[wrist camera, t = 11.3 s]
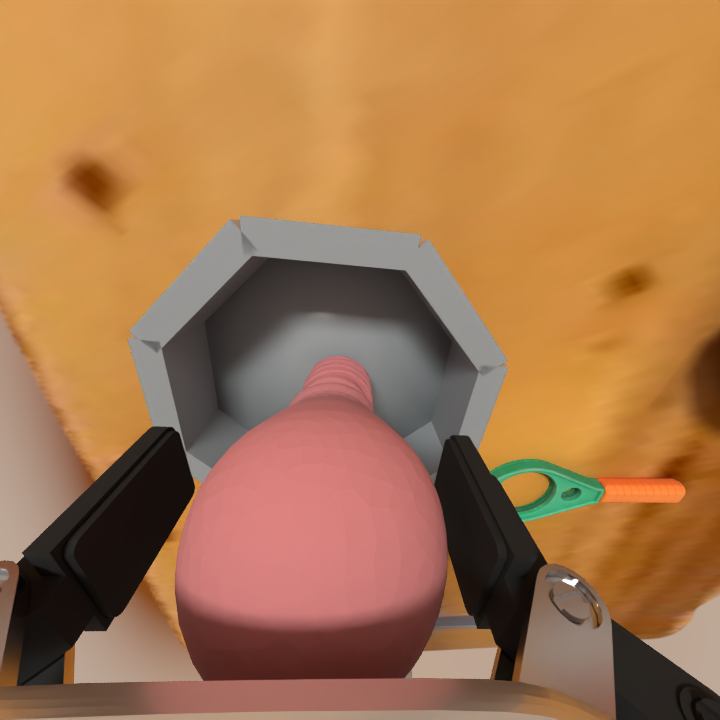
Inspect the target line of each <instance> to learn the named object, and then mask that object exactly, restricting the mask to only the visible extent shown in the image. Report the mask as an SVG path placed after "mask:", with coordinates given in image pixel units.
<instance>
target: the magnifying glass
mask: <svg viewBox="0 0 720 720" xmlns="http://www.w3.org/2000/svg"><path fill="white" fill-rule="evenodd" d="M527 472H539V473H543V474H546V475H548V476H549V477H550V485H549V488H548V489H547V491H546V492H545V493H544V494H543V495H542V496H541V497H540V498H539V499H537V500H536V501H534V502H532V503H530V504H527V505H524V506H520V507H514V508H515V509H516V511H517V513H518V514H519V516H520V518H521V519H522V521H523V522H525V521H531V520H535V519H539V518H542V517H546V516H550V515H553V514H557V513H560V512H564V511H568V510H571V509H575V508H578V507H582V506H586V505H589V504H596V503H598V502H648V503H653V502H654V503H677V502H679V501H680V500H681V499H682V498H683V496H684V495H685V488H684V487H683V485H682V484H681V483H680V482H678V481H677V480H675V479H672V478H596V479H595V478H587V477H584V476H582V475H579V474H577V473H574V472H572V471H569V470H567V469H564V468H562V467H559V466H557V465H554V464H552V463H549V462H546V461H543V460H538V459H523V460H517V461H512V462H509V463H506V464H503V465H501V466H499V467H497V468H495V469H494V470H492V471H490V474H491V475H494V476H495V477H496V478H497V479H498V480H499V482H500V484H501V483H502V482H503V481H504V480H506V479H508V478H510V477H512V476H514V475H518V474H521V473H527ZM570 488H572V489H571V490H569V491H567V492H564V491H565V490H567V489H570Z"/></svg>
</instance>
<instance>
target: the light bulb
mask: <svg viewBox="0 0 720 720" xmlns="http://www.w3.org/2000/svg"><path fill="white" fill-rule="evenodd" d="M447 554H448V546H447V535H446V527H445V521H444V516H443V510H442V507H441V503H440V500H439V497H438V494H437V491H436V488H435V486H434V484H433V482H432V479H431V477H430V475H429V473H428V471H427V470H426V468H425V466H424V465H423V463H422V461H421V460H420V458H419V457H418V456H417V454H416V453H415V452H414V450H413V449H412V448H411V446H410V445H409V444H408V443H407V442H406V441H405V440H404V439H403V438H402V437H401V436H400V435H399V434H398V433H396V432H395V431H394V430H393V429H392V428H391V427H390V426H389V425H388V424H387V423H386V422H384V421H383V420H382V419H381V418H380V417H378V416H377V415H376V414H374V410H373V394H372V388H371V384H370V378H369V376H368V373H367V372H366V370H365V368H364V367H363V366H361V365H360V364H359V363H358V362H357V361H355V360H353V359H351V358H349V357H345V356H332V357H327V358H325V359H323V360H321V361H319V362H318V363H317V364H316V365H315V366H314V367H313V368H312V370H311V372H310V374H309V375H308V377H307V379H306V380H305V383H304V386H303V388H302V391H301V392H300V393H299V394H298V395H296V396H295V398H294V399H293V401H292V402H291V404H290V405H289V407H288V408H286V409H284V410H282V411H280V412H278V413H277V414H275V415H273V416H272V417H270V418H269V419H267V420H265V421H264V422H262V423H261V424H259V425H257V426H256V427H254V428H253V429H251V430H250V431H248V432H247V433H246V434H245V435H243V436H242V437H241V438H240V439H239V440H238V441H237V442H235V443H234V444H233V445H232V446H231V447H230V448H229V449H228V450H227V451H226V453H225V454H224V455H223V456H222V457H221V458H220V459H219V460H218V462H217V463H216V464H215V466H214V467H213V468H212V470H211V471H210V472H209V474H208V475H207V477H206V479H205V480H204V482H203V484H202V486H201V487H200V489H199V491H198V493H197V495H196V497H195V499H194V501H193V504H192V506H191V508H190V511H189V513H188V516H187V519H186V522H185V525H184V528H183V532H182V536H181V540H180V544H179V548H178V555H177V563H176V571H175V595H176V603H177V612H178V620H179V625H180V629H181V632H182V634H183V637H184V640H185V643H186V646H187V649H188V652H189V655H190V657H191V660H192V663H193V665H194V666H195V668H196V669H197V671H198V673H199V674H200V676H201V677H202V679H203V681H233V680H302V679H404V678H405V677H406V676H407V675H408V673H409V672H410V671H411V670H412V668H413V667H414V665H415V663H416V662H417V660H418V659H419V657H420V656H421V654H422V652H423V650H424V648H425V646H426V644H427V642H428V640H429V638H430V636H431V634H432V631H433V629H434V626H435V623H436V620H437V618H438V615H439V612H440V608H441V604H442V600H443V595H444V589H445V583H446V577H447Z"/></svg>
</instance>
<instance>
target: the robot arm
mask: <svg viewBox="0 0 720 720" xmlns="http://www.w3.org/2000/svg"><path fill="white" fill-rule="evenodd" d="M434 486H435V488H436V491H437V494H438V497H439V500H440V503H441V507H442V510H443V516H444V521H445V527H446V535H447V546H448V551H449V555H450V558H451V561H452V565H453V568H454V571H455V575H456V578H457V581H458V585H459V588H460V591H461V595H462V598H463V601H464V605H465V608H466V610H467V612H468V614H469V615H470V616H474V619H475V623H476V626H477V629H491V631H492V634H493V637H494V640H495V643H496V645H498V649H497V653H496V657H495V661H494V666H493V670H492V674H491V678H490V679H434V678H433V679H432V678H412V671H410V672H409V673H408V675H407V676H406V677H405V678H404V679H302V680H233V681H173V682H126V683H125V682H124V683H79V684H74V656H75V643H76V641H77V640H78V638H79V637H80V635H81V634H82V632H83V631H106V630H107V629H108V627H109V625H110V624H111V622H112V621H113V619H114V617H117V616H118V615H120V614H121V613H122V612H123V610H124V609H125V608H126V606H127V604H128V603H129V601H130V599H131V598H132V596H133V594H134V593H135V591H136V589H137V588H138V586H139V584H140V583H141V581H142V579H143V578H144V576H145V574H146V573H147V571H148V569H149V568H150V566H151V565H152V563H153V561H154V560H155V558H156V556H157V555H158V553H159V551H160V550H161V548H162V546H163V545H164V543H165V541H166V540H167V538H168V536H169V535H170V533H171V531H172V530H173V528H174V526H175V525H176V523H177V521H178V520H179V518H180V516H181V515H182V513H183V511H184V510H185V508H186V506H187V505H188V503H189V501H190V500H191V498H192V496H193V494H194V490H195V485H194V481H193V478H192V474H191V471H190V467H189V464H188V461H187V457H186V454H185V450H184V447H183V443H182V440H181V436H180V434H179V432H178V431H175V429H174V428H173V427H161V426H154V427H151V428H150V429H149V430H148V431H146V432H145V433H144V434H143V435H142V436H141V437H140V438H139V439H138V440H137V441H136V442H135V443H134V444H133V445H132V446H131V447H130V448H129V449H128V450H127V451H126V452H125V453H124V454H123V455H122V456H121V457H120V458H119V459H118V460H117V461H116V462H115V463H114V464H113V465H112V466H111V467H110V468H109V469H108V470H106V471H105V472H104V473H103V474H102V475H101V476H100V477H99V478H98V479H97V480H96V481H95V482H94V483H93V484H92V485H91V486H90V487H89V488H88V489H87V490H86V491H85V492H84V493H83V494H82V495H81V496H80V497H79V498H78V499H77V500H76V501H75V502H74V503H73V504H72V505H71V506H70V507H69V508H67V510H65V511H64V512H63V513H62V514H61V515H60V516H59V517H58V518H57V519H56V520H55V521H54V522H53V523H52V524H51V525H50V526H49V527H48V528H47V529H46V530H45V531H44V532H43V533H42V534H41V535H40V536H39V537H38V538H37V539H36V540H35V541H34V542H33V543H32V544H31V545H30V546H29V547H28V548H27V549H26V550H24V551H23V552H22V553H23V555H24V557H23V558H22V559H21V560H20V561H19V562H18V563H17V564H16V563H15V562H13V561H5V560H4V561H0V720H720V696H718V695H717V694H716V693H715V692H713V691H712V690H710V689H709V688H708V687H706V686H705V685H703V684H702V683H701V682H699V681H698V680H697V679H695V678H694V677H692V676H691V675H690V674H688V673H686V672H685V671H684V670H682V669H681V668H680V667H678V666H677V665H675V664H674V663H673V662H671V661H670V660H668V659H667V658H666V657H664V656H663V655H661V654H660V653H659V652H657V651H656V650H654V649H653V648H652V647H650V646H649V645H647V644H646V643H644V642H643V641H642V640H640V639H639V638H637V637H636V636H635V635H633V634H632V633H630V632H629V631H628V630H626V629H625V628H623V627H622V626H621V625H619V624H618V623H616V622H615V621H614V620H612V619H611V618H610V614H609V611H608V609H607V607H606V605H605V603H604V601H603V600H602V598H601V597H600V595H599V594H598V593H597V591H596V590H595V589H594V588H593V587H592V586H591V585H590V584H589V583H588V582H587V581H586V580H585V579H584V578H582V577H581V576H580V575H578V574H577V573H576V572H574V571H572V570H570V569H568V568H566V567H564V566H561V565H557V564H547V562H546V560H545V559H544V557H543V555H542V554H541V552H540V550H539V548H538V547H537V545H536V543H535V542H534V540H533V538H532V537H531V535H530V533H529V531H528V530H527V528H526V526H525V525H524V523H523V521H522V519H521V518H520V516H519V514H518V513H517V511H516V509H515V508H514V506H513V504H512V502H511V501H510V499H509V497H508V496H507V494H506V492H505V490H504V489H503V487H502V485H501V484H500V482H499V480H498V479H497V478H496V477H495V476H494V475H491V474H490V472H489V470H488V468H487V467H486V465H485V463H484V461H483V460H482V458H481V456H480V454H479V452H478V451H477V449H476V447H475V445H474V444H473V442H472V440H471V438H470V437H469V436H467V435H451V436H450V439H446V440H445V443H444V447H443V451H442V455H441V459H440V463H439V467H438V471H437V475H436V479H435V483H434Z"/></svg>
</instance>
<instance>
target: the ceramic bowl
mask: <svg viewBox="0 0 720 720" xmlns="http://www.w3.org/2000/svg"><path fill="white" fill-rule="evenodd" d="M420 236H421V235H420V234H411V233H401V232H392V231H382V230H373V229H363V228H354V227H344V226H335V225H325V224H315V223H306V222H296V221H287V220H277V219H268V218H258V217H249V216H240V220H234V219H230V220H229V221H228V222H227V223H226V224H225V225H224V226H223V227H222V228H221V230H220V231H219V232H218V233H217V234H216V235H215V236H214V237H213V238H212V240H211V241H210V242H209V243H208V244H207V245H206V246H205V247H204V248H203V250H202V251H201V252H200V253H199V254H198V255H197V256H196V257H195V258H194V260H193V261H192V262H191V263H190V264H189V265H188V266H187V267H186V268H185V270H184V271H183V272H182V273H181V274H180V275H179V276H178V277H177V278H176V280H175V281H174V282H173V283H172V284H171V285H170V286H169V287H168V288H167V290H166V291H165V292H164V293H163V294H162V295H161V296H160V297H159V298H158V300H157V301H156V302H155V303H154V304H153V305H152V306H151V307H150V308H149V310H148V311H147V312H146V313H145V314H144V315H143V316H142V317H141V318H140V320H139V321H138V322H137V323H136V324H135V325H134V326H133V327H132V328H131V330H130V331H129V332H130V333H131V334H133V335H134V336H133V337H131V338H128V343H129V346H130V349H131V353H132V356H133V360H134V363H135V366H136V370H137V373H138V377H139V380H140V384H141V387H142V390H143V394H144V397H145V401H146V404H147V407H148V411H149V414H150V418H151V421H152V424H153V427H154V426H161V427H173V428H174V429H175V431H178V432H179V434H180V436H181V440H182V443H183V447H184V450H185V454H186V457H187V461H188V464H189V467H190V471H191V474H192V477H194V478H195V479H197V480H198V481H200V482H201V483H203V482H204V480H205V479H206V477H207V475H208V474H209V472H210V471H211V470H212V468H213V467H214V466H215V464H216V463H217V462H218V460H219V459H220V458H221V457H222V456H223V455H224V454H225V453H226V451H227V450H228V449H229V448H230V447H231V446H232V445H233V444H234V443H235V442H237V441H238V440H239V439H240V438H241V437H242V436H243V435H245V434H246V433H247V432H248V431H250V430H251V429H253V428H254V427H256V426H257V425H259V424H261V423H262V422H264V421H265V420H267V419H269V418H270V417H272V416H273V415H275V414H277V413H278V412H280V411H282V410H284V409H286V408H288V407H289V405H290V404H291V402H292V401H293V399H294V398H295V396H296V395H298V394H299V393H300V392H301V391H302V388H303V386H304V383H305V380H306V379H307V377H308V375H309V374H310V372H311V370H312V368H313V367H314V366H315V365H316V364H317V363H318V362H319V361H321V360H323V359H325V358H327V357H332V356H345V357H349V358H351V359H353V360H355V361H357V362H358V363H359V364H360V365H361V366H363V367H364V368H365V370H366V372H367V373H368V376H369V378H370V384H371V388H372V394H373V410H374V414H376V415H377V416H378V417H380V418H381V419H382V420H383V421H384V422H386V423H387V424H388V425H389V426H390V427H391V428H392V429H393V430H394V431H395V432H396V433H398V434H399V435H400V436H401V437H402V438H403V439H404V440H405V441H406V442H407V443H408V444H409V445H410V446H411V448H412V449H413V450H414V452H415V453H416V454H417V456H418V457H419V458H420V460H421V461H422V463H423V465H424V466H425V468H426V470H427V471H428V473H429V475H430V477H431V479H432V482H433V484H434V483H435V479H436V475H437V471H438V467H439V463H440V459H441V455H442V451H443V447H444V443H445V440H446V439H450V436H451V435H467V436H469V437H470V438H471V440H472V442H473V444H474V445H475V447H476V449H477V451H478V448H479V446H480V443H481V440H482V438H483V435H484V432H485V430H486V427H487V424H488V421H489V419H490V416H491V413H492V411H493V408H494V405H495V402H496V400H497V397H498V394H499V392H500V389H501V386H502V383H503V381H504V378H505V375H506V373H507V370H508V367H507V366H506V365H505V364H504V363H505V362H506V361H508V360H507V358H506V357H505V355H504V354H503V352H502V351H501V349H500V348H499V346H498V344H497V343H496V341H495V340H494V338H493V337H492V335H491V334H490V332H489V331H488V329H487V328H486V326H485V325H484V323H483V321H482V320H481V318H480V317H479V315H478V314H477V312H476V311H475V309H474V308H473V306H472V305H471V303H470V302H469V300H468V298H467V297H466V295H465V294H464V292H463V291H462V289H461V288H460V286H459V285H458V283H457V282H456V280H455V279H454V277H453V275H452V274H451V272H450V271H449V269H448V268H447V266H446V265H445V263H444V262H443V260H442V259H441V257H440V256H439V254H438V252H437V251H436V249H435V248H434V246H433V245H432V243H431V242H430V240H427V239H420Z"/></svg>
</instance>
